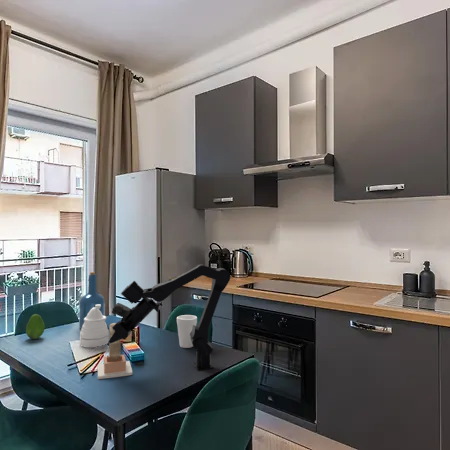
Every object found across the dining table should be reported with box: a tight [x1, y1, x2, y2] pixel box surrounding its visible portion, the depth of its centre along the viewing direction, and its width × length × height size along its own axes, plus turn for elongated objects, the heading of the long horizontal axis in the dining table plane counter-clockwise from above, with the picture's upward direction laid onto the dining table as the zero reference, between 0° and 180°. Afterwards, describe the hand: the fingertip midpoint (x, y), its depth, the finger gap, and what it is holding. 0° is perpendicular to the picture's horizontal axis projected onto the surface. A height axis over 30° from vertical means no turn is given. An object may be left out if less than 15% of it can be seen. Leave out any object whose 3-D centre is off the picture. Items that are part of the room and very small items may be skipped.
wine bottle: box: [78, 271, 106, 329], centre depth 197 cm, size 14×13×30 cm
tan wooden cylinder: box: [108, 322, 121, 361], centre depth 137 cm, size 4×4×13 cm
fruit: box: [25, 313, 46, 340], centre depth 176 cm, size 8×8×12 cm
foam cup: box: [176, 314, 198, 349], centre depth 167 cm, size 10×9×13 cm
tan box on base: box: [97, 354, 133, 380], centre depth 137 cm, size 12×12×4 cm
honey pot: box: [79, 304, 109, 348], centre depth 170 cm, size 13×13×18 cm
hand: (111, 340), depth 137 cm, fingers closed on tan wooden cylinder, 4 cm apart
